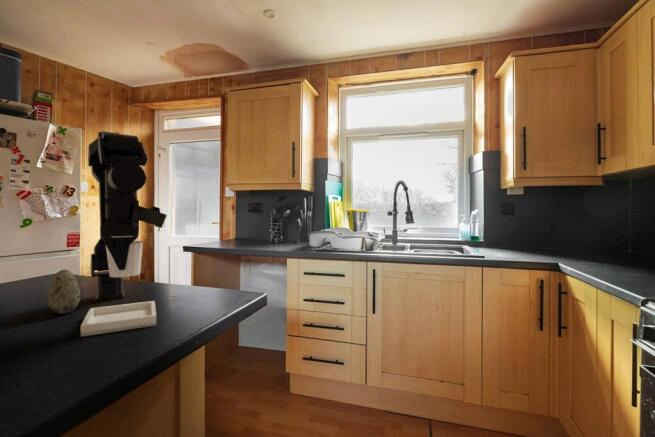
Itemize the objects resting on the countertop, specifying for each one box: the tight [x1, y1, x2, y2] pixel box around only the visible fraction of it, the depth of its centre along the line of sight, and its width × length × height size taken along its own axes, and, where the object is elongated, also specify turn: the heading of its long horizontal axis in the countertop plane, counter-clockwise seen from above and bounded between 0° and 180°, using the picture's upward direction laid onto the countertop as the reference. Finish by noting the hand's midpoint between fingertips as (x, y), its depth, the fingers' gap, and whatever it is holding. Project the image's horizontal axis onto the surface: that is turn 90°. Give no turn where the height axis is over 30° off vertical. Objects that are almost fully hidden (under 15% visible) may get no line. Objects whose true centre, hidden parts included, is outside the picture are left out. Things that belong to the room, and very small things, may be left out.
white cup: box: [106, 240, 144, 278], centre depth 71 cm, size 7×7×7 cm
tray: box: [80, 300, 157, 337], centre depth 71 cm, size 13×13×2 cm
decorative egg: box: [46, 269, 81, 314], centre depth 76 cm, size 6×6×10 cm
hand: (122, 267), depth 71 cm, fingers closed on white cup, 6 cm apart
